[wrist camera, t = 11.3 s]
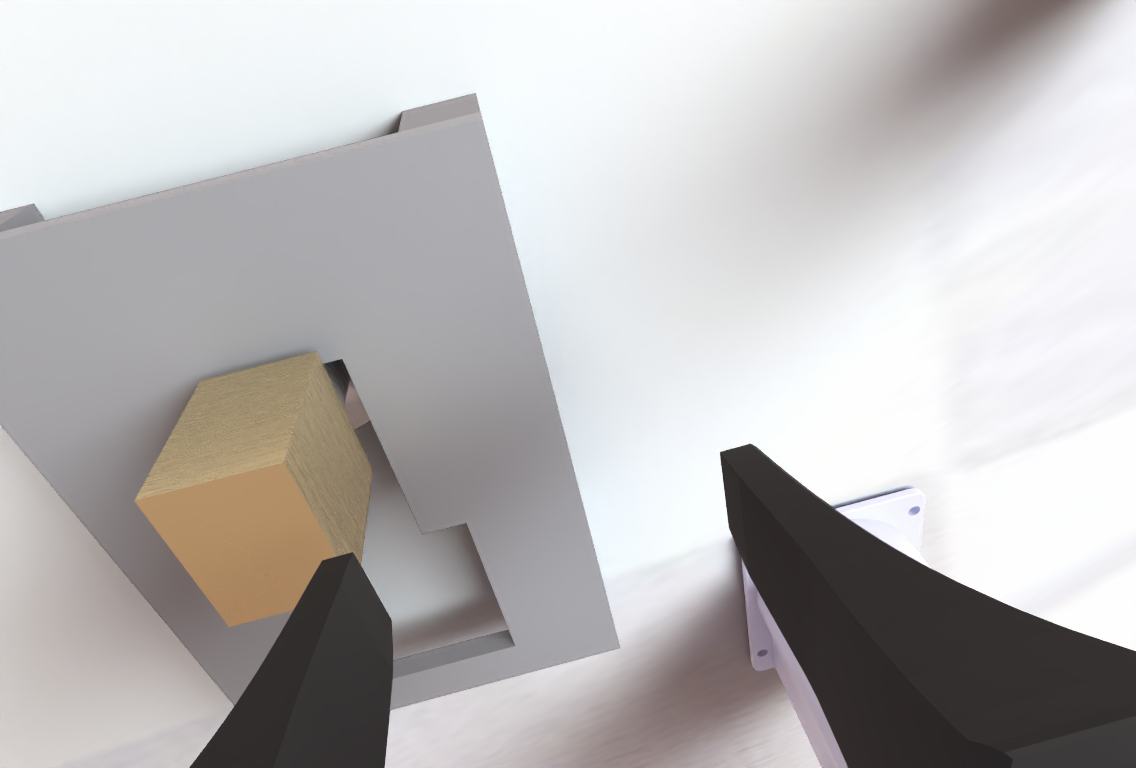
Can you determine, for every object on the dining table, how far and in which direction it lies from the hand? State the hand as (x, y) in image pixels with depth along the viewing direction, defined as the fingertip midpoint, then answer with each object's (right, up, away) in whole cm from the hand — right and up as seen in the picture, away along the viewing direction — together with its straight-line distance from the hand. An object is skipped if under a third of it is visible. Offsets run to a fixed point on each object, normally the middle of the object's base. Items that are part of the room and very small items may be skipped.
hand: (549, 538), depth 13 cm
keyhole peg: (-8, +4, +8) cm, 12 cm away
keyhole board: (-7, +1, +11) cm, 13 cm away
